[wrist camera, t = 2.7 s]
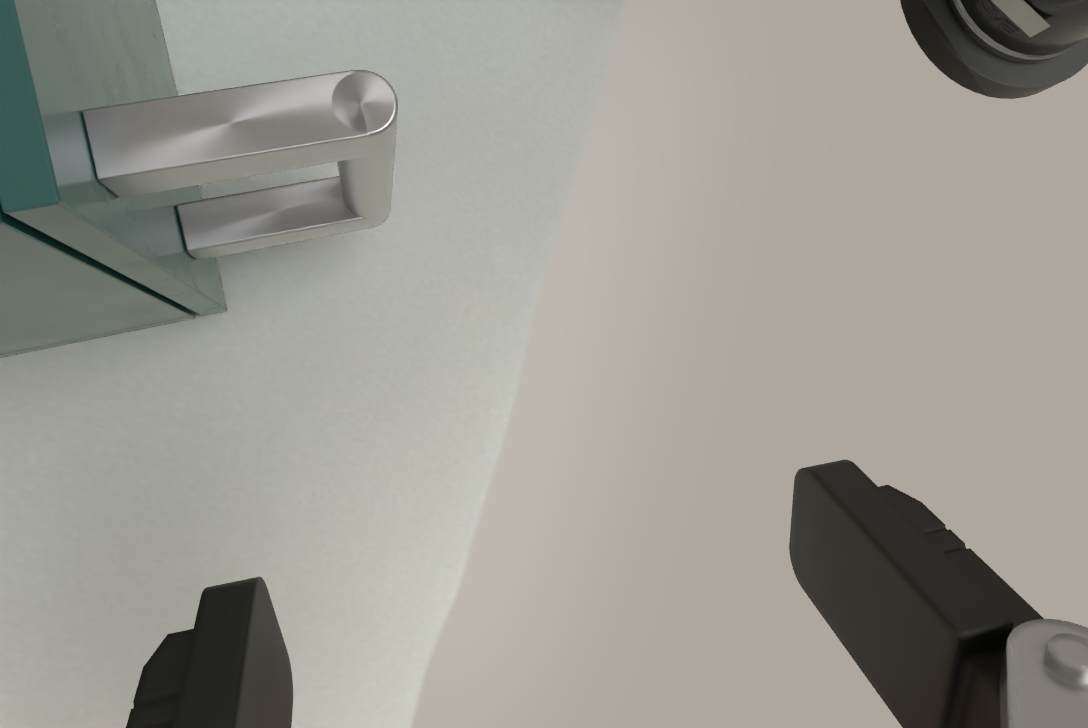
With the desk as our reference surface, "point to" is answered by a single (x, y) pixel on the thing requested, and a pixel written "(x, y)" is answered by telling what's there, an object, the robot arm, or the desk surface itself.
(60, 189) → the fridge door
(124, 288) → the fridge
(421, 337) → the desk surface
